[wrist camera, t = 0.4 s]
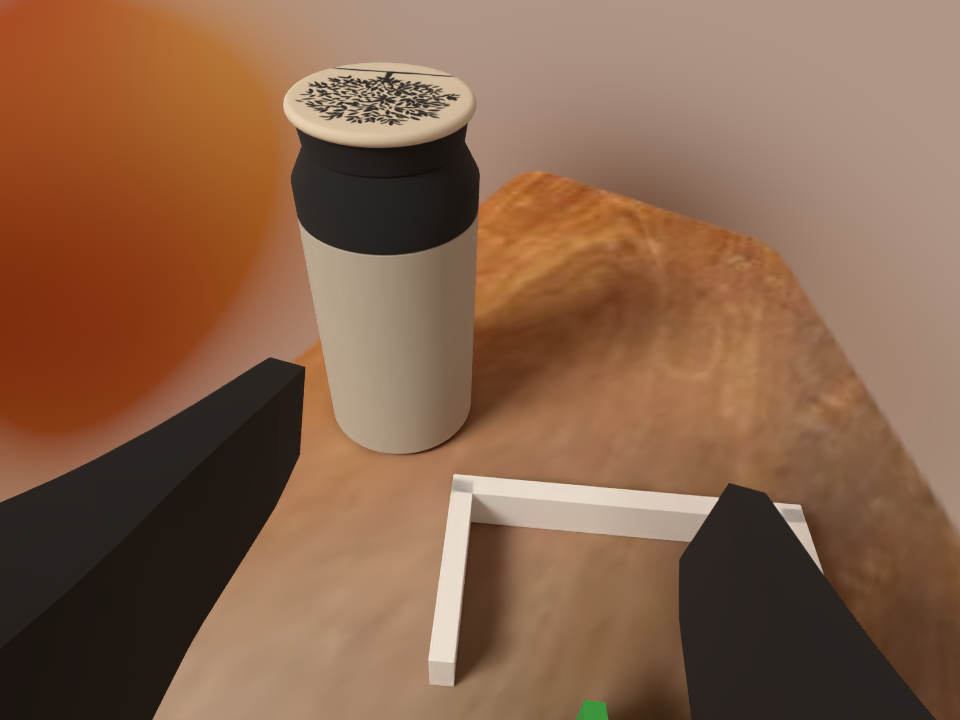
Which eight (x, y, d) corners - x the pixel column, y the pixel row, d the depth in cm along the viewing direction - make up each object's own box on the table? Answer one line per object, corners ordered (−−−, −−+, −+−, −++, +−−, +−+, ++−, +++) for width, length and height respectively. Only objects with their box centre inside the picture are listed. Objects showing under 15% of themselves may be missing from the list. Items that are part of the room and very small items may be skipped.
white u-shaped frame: (838, 725, 25) (867, 703, 24) (429, 684, 26) (428, 660, 24) (781, 532, 32) (800, 505, 30) (453, 503, 32) (453, 474, 30)
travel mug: (450, 471, 34) (452, 152, 21) (311, 441, 35) (236, 121, 22) (484, 370, 39) (501, 71, 27) (363, 347, 40) (326, 50, 28)
